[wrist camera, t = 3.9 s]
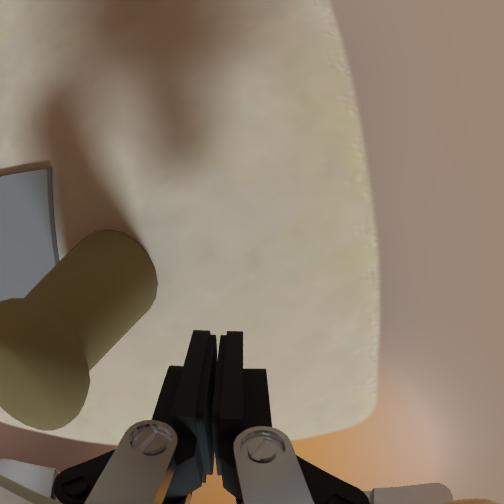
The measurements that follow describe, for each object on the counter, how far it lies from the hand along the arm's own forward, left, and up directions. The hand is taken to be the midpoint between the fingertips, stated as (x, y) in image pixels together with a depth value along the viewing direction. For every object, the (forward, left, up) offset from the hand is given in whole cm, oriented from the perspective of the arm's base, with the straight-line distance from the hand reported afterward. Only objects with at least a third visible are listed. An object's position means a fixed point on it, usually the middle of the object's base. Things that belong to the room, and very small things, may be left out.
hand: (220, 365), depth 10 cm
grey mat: (0, -17, -8) cm, 19 cm away
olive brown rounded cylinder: (0, -7, -8) cm, 11 cm away
